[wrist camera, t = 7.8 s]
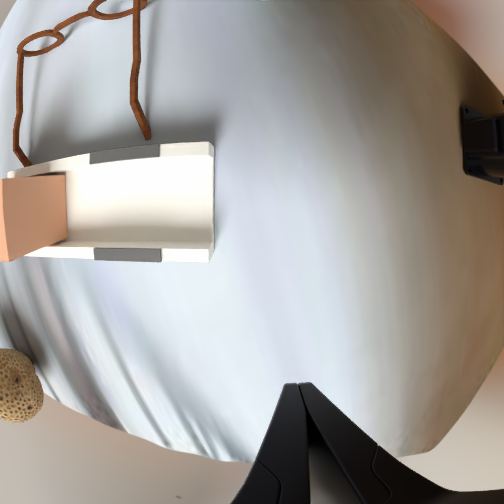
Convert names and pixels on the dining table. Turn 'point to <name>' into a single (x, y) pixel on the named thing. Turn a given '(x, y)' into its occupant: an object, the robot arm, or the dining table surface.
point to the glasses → (138, 5)
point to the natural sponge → (18, 387)
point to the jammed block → (31, 214)
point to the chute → (136, 203)
